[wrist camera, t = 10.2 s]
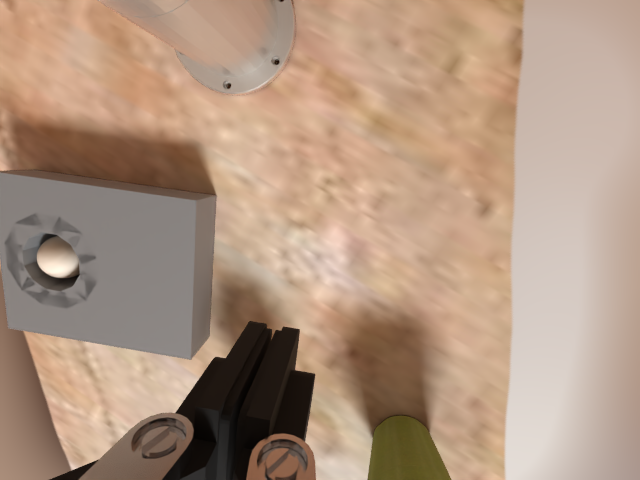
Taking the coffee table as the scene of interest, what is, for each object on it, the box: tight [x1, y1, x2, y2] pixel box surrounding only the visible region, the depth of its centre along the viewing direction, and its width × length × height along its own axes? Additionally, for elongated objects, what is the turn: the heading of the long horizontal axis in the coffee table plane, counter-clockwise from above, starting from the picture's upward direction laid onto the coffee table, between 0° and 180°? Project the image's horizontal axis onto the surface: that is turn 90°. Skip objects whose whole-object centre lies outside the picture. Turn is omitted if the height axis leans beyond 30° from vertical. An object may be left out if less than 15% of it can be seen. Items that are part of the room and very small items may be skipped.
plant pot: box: [368, 416, 451, 480], centre depth 38 cm, size 12×12×11 cm
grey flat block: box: [0, 170, 216, 360], centre depth 38 cm, size 18×22×5 cm
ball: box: [37, 236, 80, 278], centre depth 39 cm, size 5×5×5 cm
